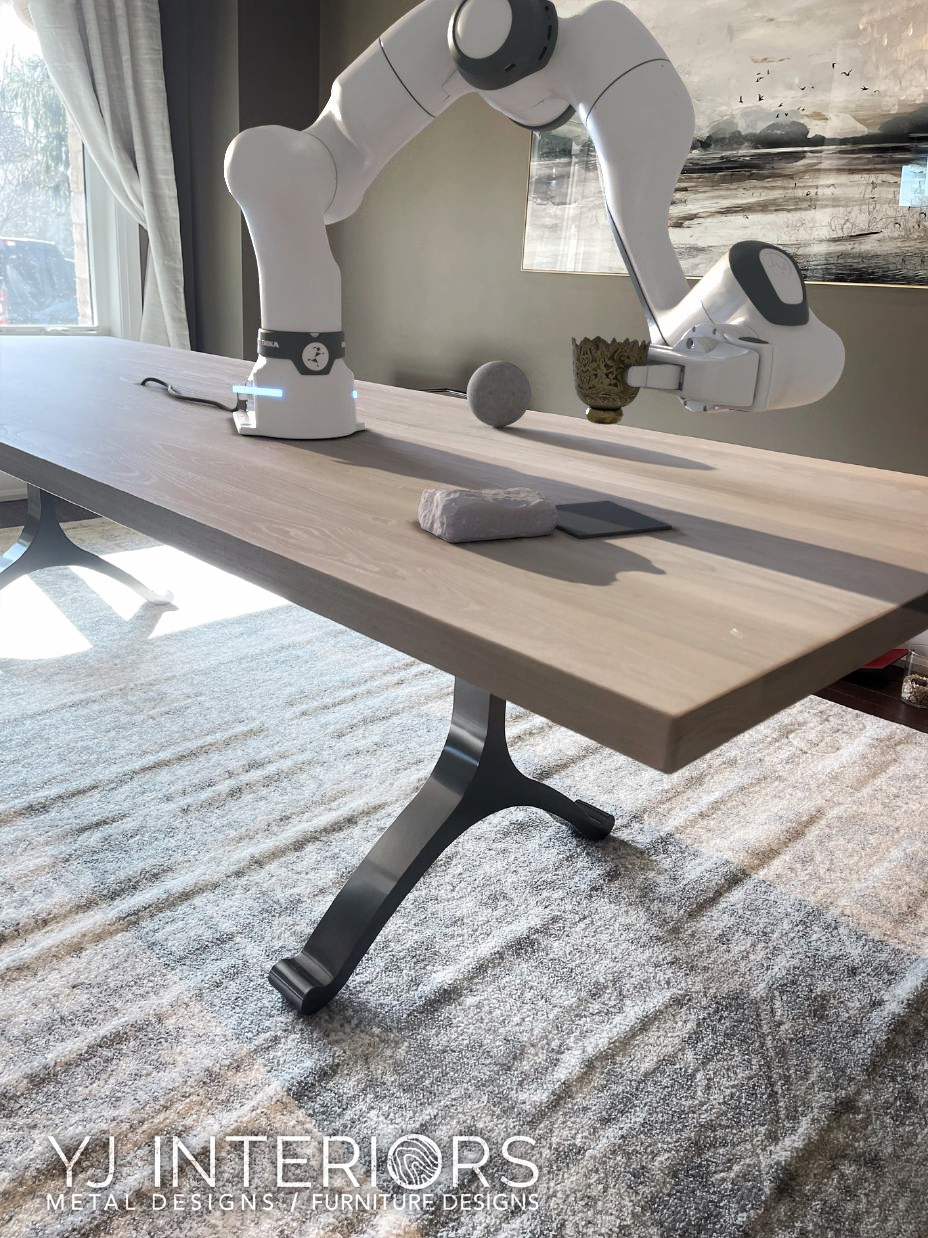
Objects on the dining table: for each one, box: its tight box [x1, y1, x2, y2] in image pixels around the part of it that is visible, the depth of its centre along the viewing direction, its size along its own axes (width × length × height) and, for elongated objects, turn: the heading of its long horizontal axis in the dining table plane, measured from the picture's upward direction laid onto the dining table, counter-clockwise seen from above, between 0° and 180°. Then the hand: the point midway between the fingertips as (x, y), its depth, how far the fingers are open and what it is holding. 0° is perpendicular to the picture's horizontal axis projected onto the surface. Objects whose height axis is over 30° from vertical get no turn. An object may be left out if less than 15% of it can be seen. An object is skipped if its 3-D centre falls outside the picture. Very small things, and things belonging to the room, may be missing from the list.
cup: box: [571, 335, 652, 426], centre depth 92 cm, size 8×7×8 cm
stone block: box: [417, 486, 558, 544], centre depth 91 cm, size 12×5×10 cm
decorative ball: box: [466, 360, 532, 428], centre depth 148 cm, size 10×10×10 cm
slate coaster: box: [554, 500, 673, 539], centre depth 97 cm, size 11×11×1 cm
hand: (600, 370), depth 91 cm, fingers closed on cup, 7 cm apart
